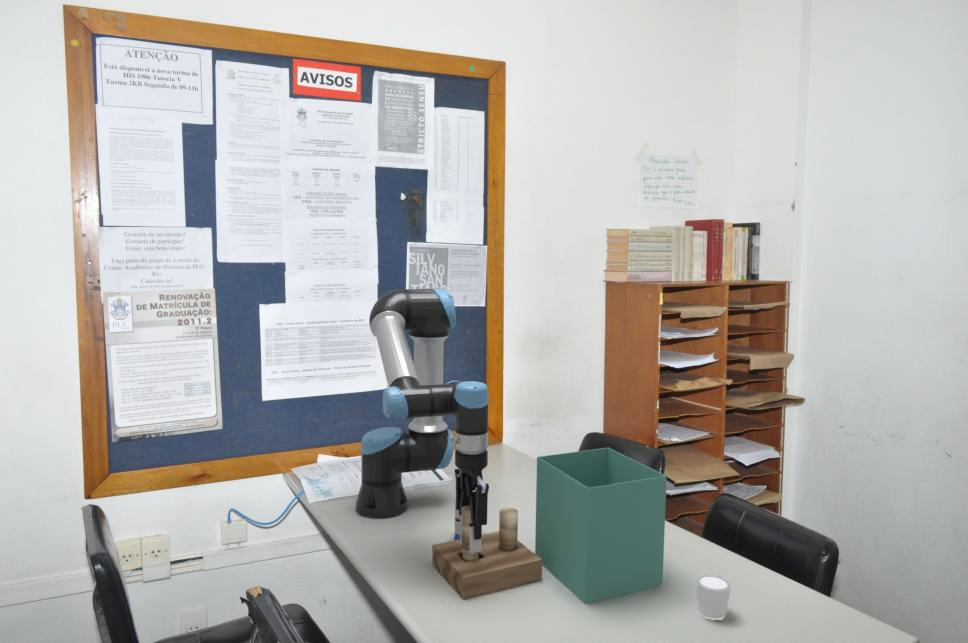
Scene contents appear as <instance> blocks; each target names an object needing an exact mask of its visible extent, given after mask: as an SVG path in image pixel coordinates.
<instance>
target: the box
mask: <svg viewBox="0 0 968 643" xmlns="http://www.w3.org/2000/svg"><path fill="white" fill-rule="evenodd" d="M667 479H668V478H667V475H665V474H663V473H661V472H659V471H657V470H655V469H653V468H652V467H649V466H647V465H645V464H642V463H641V462H639V461H637V460H635V459H633V458H630V457H628V456H626V455H624V454H622V453H620V452H618V451H616V450H615V449H612V448H611V447H602V448H595V449H588V450H587V449H586V450H581V451H572V452H565V453H557V454H549V455H541V456H540V455H539V456H537V457H536V484H535V485H536V487H535V488H536V494H535V496H536V497H535V499H536V500H535V545H534V547H535V549H534V550H535V551H534V554H536V555H537V556H538V557H540V558H541V559H542V567H543V568H545V569H546V570H547V571H548V572H549V573H551V575H553V576H554V577H555V578H556V579H557V580H558V581H559V582H560V583H561V584H562V585H563V586H564V587H565V588H567V589H568V590H569V591H570V592H571V593H572V594H574V595H575V597H577V599H578V600H580V601H581V602H582V603H583V604H585V605H587V604H591V603H594V602H600V601H603V600H604V601H605V600H607V599H611V598H616V597H620V596H625V595H629V594H634V593H638V592H641V591H642V592H643V591H646V589H647V590H649V588H651V589H654V588H653V587H655V588H658V587H657V586H659V587H662V586H663V578H664V577H663V576H664V574H663V573H664V554H665V553H664V551H665V528H666V527H665V526H666V525H665V524H666V506H667V505H666V503H667V499H666V498H667ZM661 585H662V586H661Z"/></svg>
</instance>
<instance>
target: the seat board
mask: <svg viewBox="0 0 968 643" xmlns="http://www.w3.org/2000/svg"><path fill="white" fill-rule="evenodd" d="M498 514H499V519H498V521H499V522H498V523H499V525H498V527H499V529H498V530H499V531H494V532H489V533H484V534H483V533H482V551H479V559H477V560H473V561H468V562H465V561H464V560H463V547H462V544H461V543H460V539H459V540H455V539H454V540H451V541H445V542H440V543H436V544H432V546H431V549H432V550H431V554H432V557H431V558H432V560H431V561H432V562H431V564H432V566H433V567H434V568H435V570H436V571H437V572H438V573H439V574H440V576H441V577H442V578H444V580H446V582H447V583H448V584H449V585H450V586H451V587H452V588H453V590H454V591H455V592H456V593H457V594H458V595H459V596H460V597H461V598H462V600H466V599H467V600H468V599H472V598H475V597H480V596H484V595H487V594H488V595H489V594H491V593H496V592H499V591H504V590H507V589H512V588H515V587H520V586H524V585H527V584H532V583H535V582H539V581H542V579H543V577H542V576H543V575H542V574H543V565H542V559H541V558H540V557H538V556H537V555H536V554H535V552H533V551H532V550H531V549H530V548H528V547H527V546H525V544H523V543H522V542H520V541H519V540H518V533H519V532H518V531H519V530H518V528H519V527H518V523H519V521H518V520H519V512H518V509H516V508H513V507H503V508H500V509H499V513H498Z"/></svg>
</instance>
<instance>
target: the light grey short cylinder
mask: <svg viewBox="0 0 968 643" xmlns="http://www.w3.org/2000/svg"><path fill="white" fill-rule="evenodd" d="M695 580H696V581H695V582H696V598H697V599H696V600H697V612H698V611H699V612H700V613H701V614H702V615H704V616H706V617H711V618H721V617H724V616H725V615H726V616H727V612H728V605H729V601H730V600H729V599H730V594H731V586H732V585H731V583H730V581H728V580H727V579H725V578H723V577H721V576H716V575H709V574H706V575H705V574H704V575H700V576H698V577H697V578H696V579H695Z"/></svg>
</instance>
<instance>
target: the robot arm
mask: <svg viewBox="0 0 968 643" xmlns="http://www.w3.org/2000/svg"><path fill="white" fill-rule="evenodd" d="M369 314H370V315H369V328H370V331H371V334H372V335H373V336H374V337H375V338H376V341H377V346H378V349H379V353H380V357H381V362H382V366H383V367H382V368H383V371H384V374H385V378H386V383H387V387H386V388H384V389H383V391H382V406H383V413H384V414H383V415H384V416H385V418H387V419H389V420H406V419H412V421H411V422H410V423H409V424H408V427H407V428H408V431H405V432H403V431H402V430H401V428H400V427H398V426H397V427H396V426H393V427H392V426H386V427H385V426H383V427H379V428H376V429H372V430H370V431H368V432H366V433H365V434H364V435H363V436H362V439H361V443H360V444H361V446H360V447H361V448H360V454H361V456H360V457H361V459H360V460H361V485H360V488H359V491H358V494H357V498H356V501H355V511H356V512H357V514H358V515H359V516H361V517H365V518H372V519H386V518H392V517H396V516H399V515H402V514H404V513H405V512H406V511H407V510H408V508H409V506H408V505H409V503H408V502H409V500H408V497H407V494H406V491H405V488H404V484H403V482H402V481H403V480H402V476H403V475H402V474H403V473H412V472H414V473H415V472H424V471H425V472H427V471H436V470H442V469H446V468H447V467H448V466H449V465H450V464H451V461H452V460H453V459H452V458H453V455H454V465H455V467H456V468H455V469H454V476H455V499H456V510H459V514H460V516H461V508H462V507H463V506H466V505H470V509H471V521H472V523H471V524H469V526H470V553H474V552H479V551H482V535H483V533H482V532H483V529H482V528H483V526H486V525H488V502H489V501H488V498H489V496H488V495H489V490H490V486H489V483H484V477H483V470H484V469H485V468H487V466H488V460H489V459H488V458H489V456H488V455H489V454H488V450H487V449H488V448H489V431H488V430H489V401H490V397H489V389H488V385H487V384H485V383H484V382H480V381H477V380H476V381H475V380H469V381H468V380H467V381H460V380H449V381H448V382H446V383H444V343H445V341H446V340H447V338H448V337H450V330H453V329H454V328H456V322H457V316H456V307H455V304H454V299H453V296H452V295H451V293H450V292H449V291H448V290H447V289H442V288H411V289H410V288H409V289H406V288H405V289H403V288H401V289H399V288H398V289H393V290H390V291H388V292H385V293H384V294H383V295H382V296H380V297H379V298H378V299H377V300H376V302H375V303H374V305H373V307H372V308H371V310H370V313H369ZM405 331H408V336H409V337H410V339H412V340H413V357H412V354H411V350H410V346H409V344H408V339H407V337H406V332H405ZM444 416H455V417H454V418H455V420H454V422H455V423H454V424H455V425H454V426H455V430H454V432H455V433H454V434H455V436H454V435H453V432H452V430H451V429H449V428H448V424H447V423H446V422H445V421H444V420H443V419H444V418H443V417H444ZM454 442H455V444H454ZM454 446H455V447H454ZM454 448H455V449H456V450H455V451H454ZM460 543H461V528H460ZM461 544H462V543H461Z"/></svg>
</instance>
